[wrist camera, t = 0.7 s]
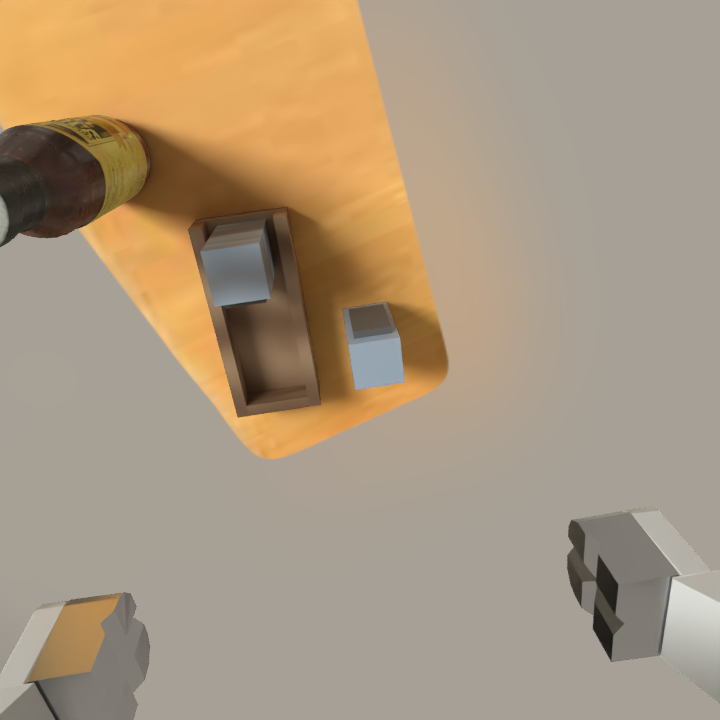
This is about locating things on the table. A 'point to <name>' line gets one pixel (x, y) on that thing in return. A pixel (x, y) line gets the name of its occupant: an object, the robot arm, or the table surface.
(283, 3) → the table surface
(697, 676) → the robot arm
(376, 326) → the blue grey rectangular block
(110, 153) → the sauce bottle
